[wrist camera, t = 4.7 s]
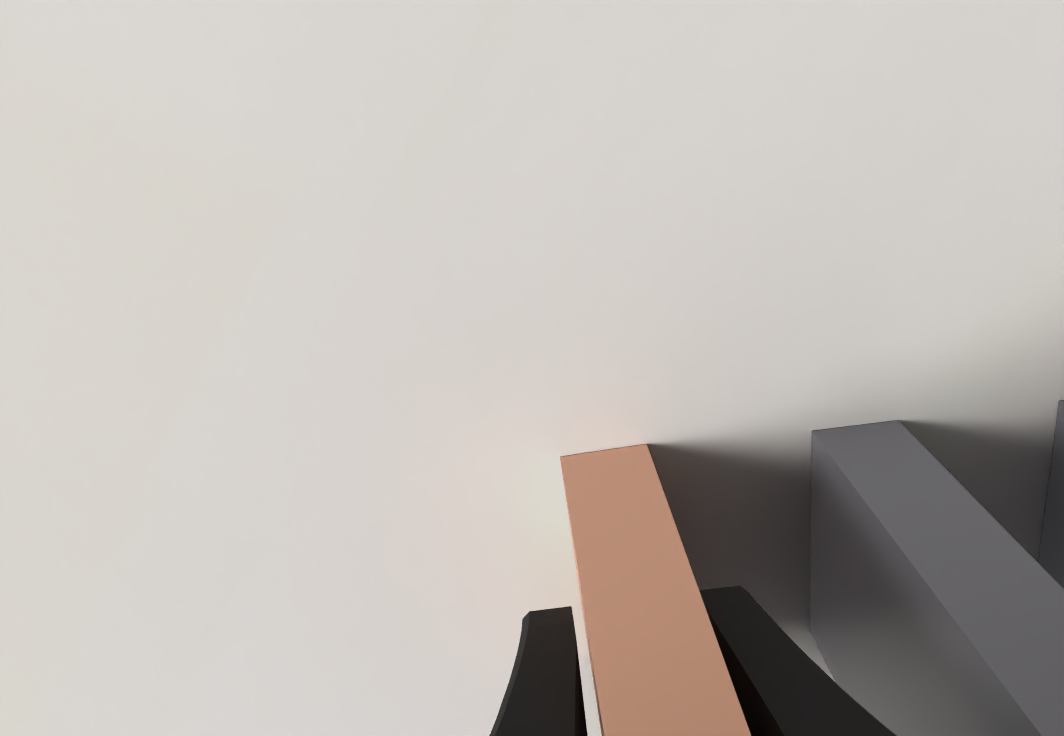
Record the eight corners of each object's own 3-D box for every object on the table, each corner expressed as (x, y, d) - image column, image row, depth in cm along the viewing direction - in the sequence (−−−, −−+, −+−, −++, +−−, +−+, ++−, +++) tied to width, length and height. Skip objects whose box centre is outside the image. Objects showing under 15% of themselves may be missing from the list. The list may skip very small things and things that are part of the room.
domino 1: (667, 641, 16) (792, 1090, 9) (588, 653, 16) (660, 1109, 9) (646, 444, 14) (779, 816, 8) (560, 457, 14) (621, 839, 8)
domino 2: (887, 621, 16) (1166, 1052, 9) (809, 630, 16) (1034, 1069, 9) (898, 420, 14) (1242, 770, 8) (811, 430, 14) (1083, 789, 8)
